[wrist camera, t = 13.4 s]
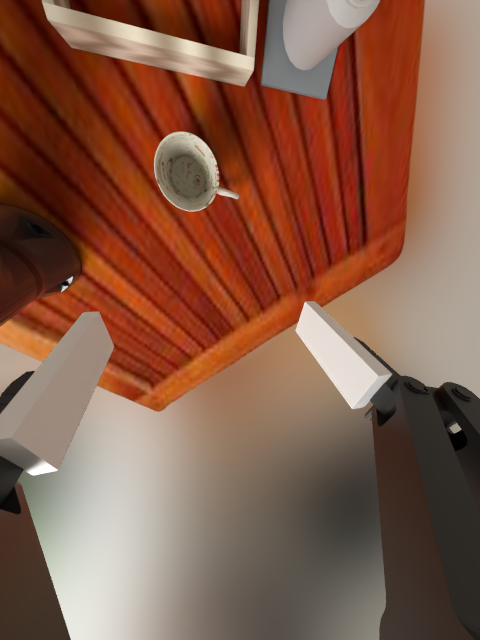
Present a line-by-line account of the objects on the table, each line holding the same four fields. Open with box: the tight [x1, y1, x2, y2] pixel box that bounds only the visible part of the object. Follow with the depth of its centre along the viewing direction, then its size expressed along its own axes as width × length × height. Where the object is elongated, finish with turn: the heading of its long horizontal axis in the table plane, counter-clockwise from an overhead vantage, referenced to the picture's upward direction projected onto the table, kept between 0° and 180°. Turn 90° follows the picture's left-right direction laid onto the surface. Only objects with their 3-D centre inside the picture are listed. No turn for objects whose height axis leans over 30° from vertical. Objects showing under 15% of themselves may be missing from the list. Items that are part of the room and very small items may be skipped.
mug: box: [154, 131, 239, 211], centre depth 29 cm, size 8×13×10 cm, turn 73°
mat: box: [261, 0, 338, 100], centre depth 26 cm, size 11×11×1 cm
